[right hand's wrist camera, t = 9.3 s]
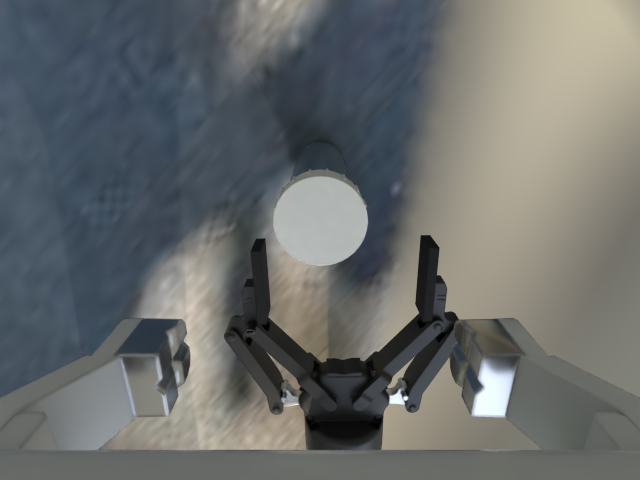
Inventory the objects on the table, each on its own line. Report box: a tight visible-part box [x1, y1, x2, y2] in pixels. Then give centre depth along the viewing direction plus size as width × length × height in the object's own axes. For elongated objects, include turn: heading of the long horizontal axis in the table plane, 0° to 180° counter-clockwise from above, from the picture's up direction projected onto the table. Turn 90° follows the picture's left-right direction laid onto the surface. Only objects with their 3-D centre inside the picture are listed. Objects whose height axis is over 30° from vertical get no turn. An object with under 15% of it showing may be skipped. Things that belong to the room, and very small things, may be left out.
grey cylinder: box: [290, 142, 351, 181], centre depth 27 cm, size 4×4×16 cm
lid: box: [273, 169, 368, 266], centre depth 20 cm, size 5×5×2 cm
